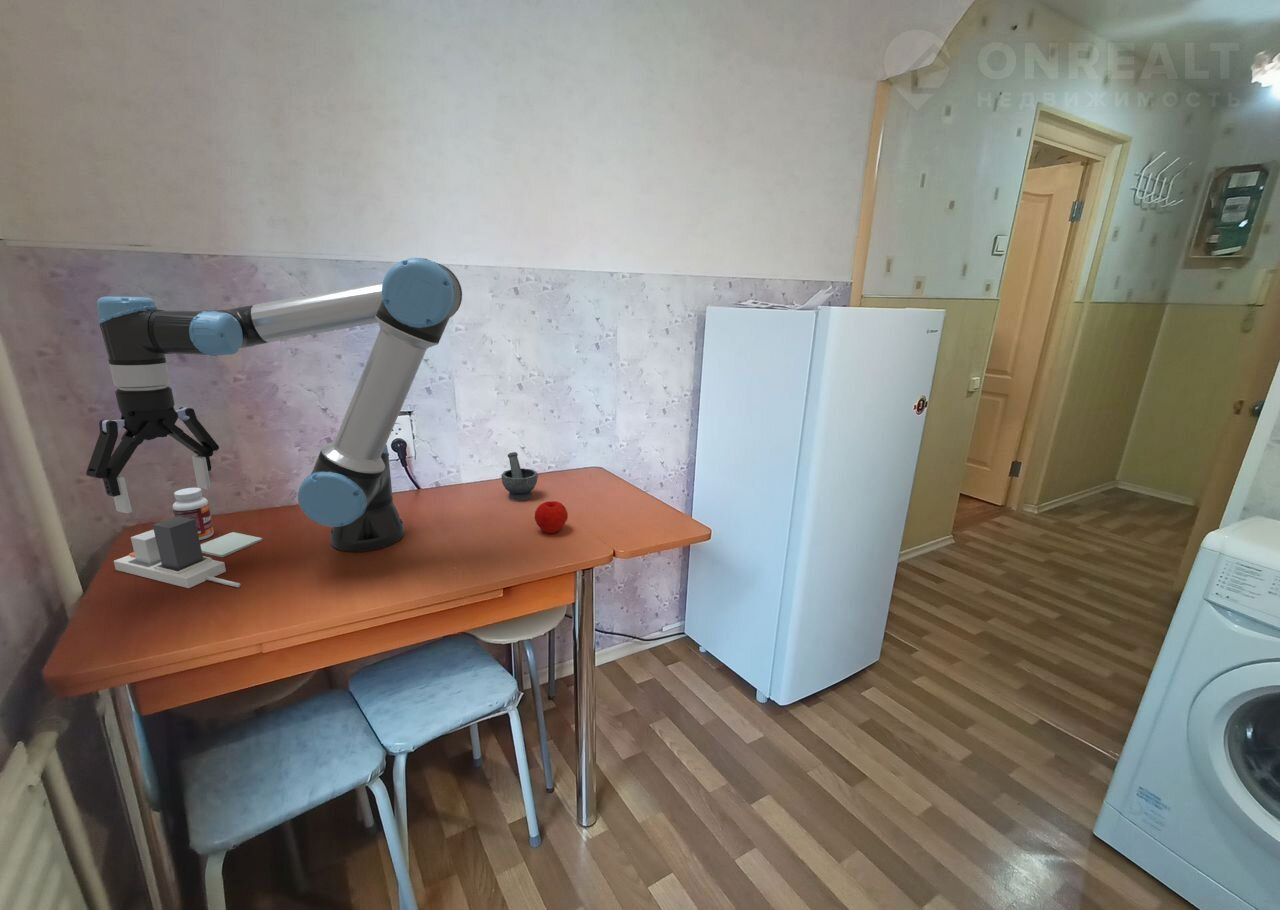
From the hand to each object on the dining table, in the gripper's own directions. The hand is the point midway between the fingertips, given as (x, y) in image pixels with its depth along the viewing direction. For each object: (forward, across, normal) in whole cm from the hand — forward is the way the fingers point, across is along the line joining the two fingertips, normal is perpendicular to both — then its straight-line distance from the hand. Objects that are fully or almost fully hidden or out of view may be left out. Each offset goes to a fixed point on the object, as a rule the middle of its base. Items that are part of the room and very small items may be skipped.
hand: (166, 499), depth 102 cm
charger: (+14, 0, 0) cm, 14 cm away
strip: (+16, 0, +1) cm, 16 cm away
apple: (+15, -45, +57) cm, 75 cm away
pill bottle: (+16, -13, -15) cm, 25 cm away
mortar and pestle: (+15, -63, +38) cm, 75 cm away
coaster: (+16, -12, -5) cm, 20 cm away
